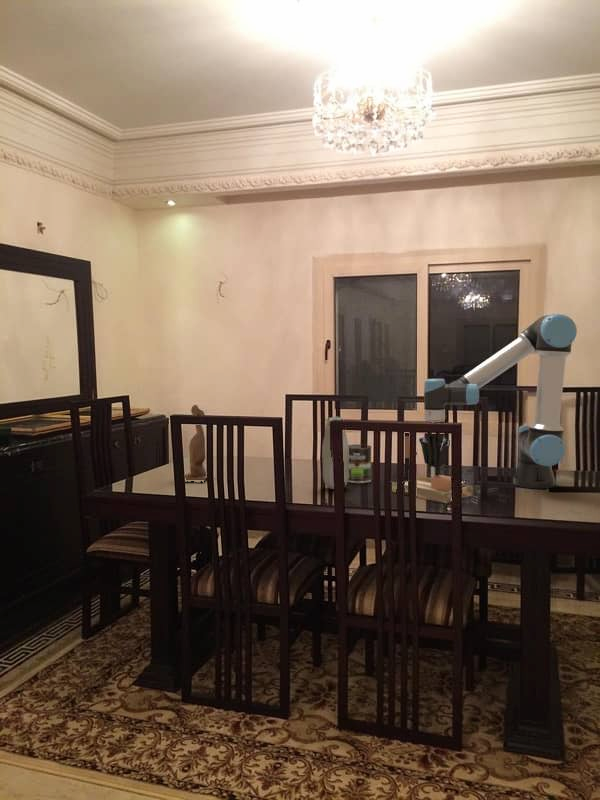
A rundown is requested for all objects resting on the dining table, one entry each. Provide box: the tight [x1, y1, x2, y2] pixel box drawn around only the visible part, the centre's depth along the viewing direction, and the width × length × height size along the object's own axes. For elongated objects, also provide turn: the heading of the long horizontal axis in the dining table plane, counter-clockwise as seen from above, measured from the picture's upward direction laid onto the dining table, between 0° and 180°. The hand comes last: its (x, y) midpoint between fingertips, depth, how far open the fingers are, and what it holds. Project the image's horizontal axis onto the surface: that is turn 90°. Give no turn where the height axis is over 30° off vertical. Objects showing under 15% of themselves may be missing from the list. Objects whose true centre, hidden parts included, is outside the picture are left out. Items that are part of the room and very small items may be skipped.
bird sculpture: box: [184, 404, 207, 481], centre depth 261 cm, size 11×12×32 cm
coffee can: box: [348, 444, 372, 484], centre depth 255 cm, size 10×10×14 cm
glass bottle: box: [321, 416, 349, 490], centre depth 241 cm, size 10×10×28 cm
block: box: [430, 474, 452, 492], centre depth 230 cm, size 6×8×4 cm
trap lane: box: [391, 475, 474, 504], centre depth 232 cm, size 16×26×4 cm, turn 41°
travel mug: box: [404, 433, 418, 479], centre depth 260 cm, size 8×8×20 cm
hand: (434, 483), depth 234 cm, fingers closed
